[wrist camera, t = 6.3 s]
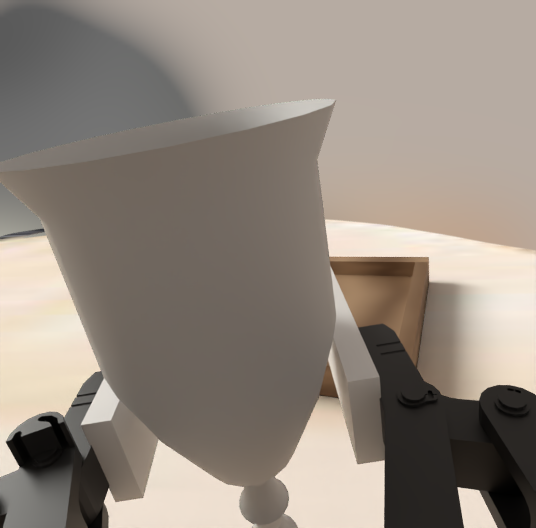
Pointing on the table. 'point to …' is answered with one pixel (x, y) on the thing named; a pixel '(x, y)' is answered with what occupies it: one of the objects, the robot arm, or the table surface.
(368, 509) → the table surface
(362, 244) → the table surface
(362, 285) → the tray
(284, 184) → the chalice
